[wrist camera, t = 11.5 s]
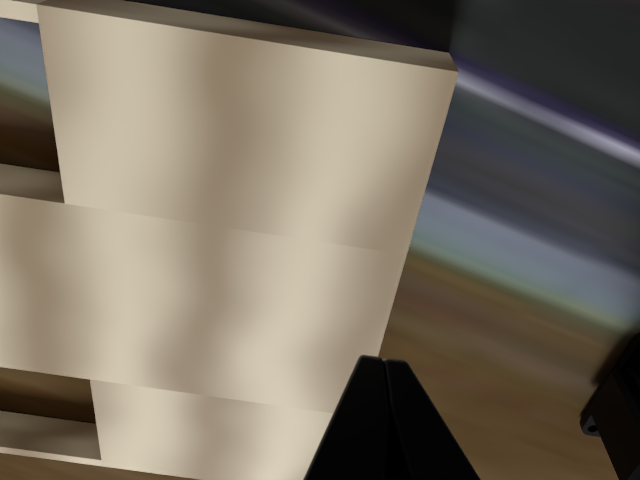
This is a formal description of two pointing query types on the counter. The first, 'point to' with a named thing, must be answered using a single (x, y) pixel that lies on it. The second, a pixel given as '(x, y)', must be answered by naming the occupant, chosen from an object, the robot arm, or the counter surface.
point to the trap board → (209, 232)
